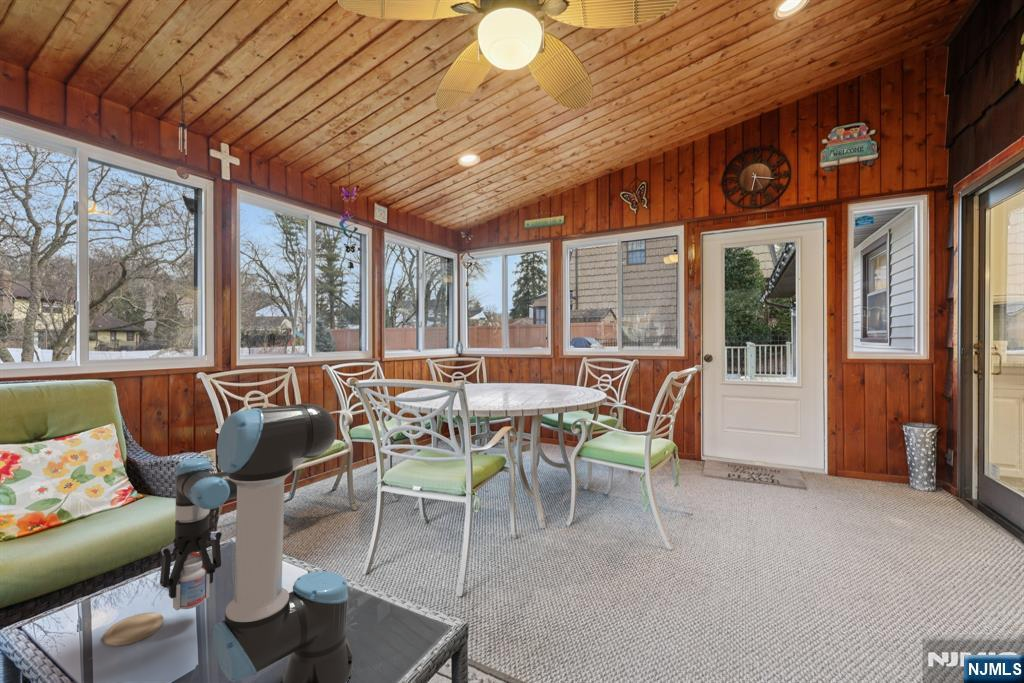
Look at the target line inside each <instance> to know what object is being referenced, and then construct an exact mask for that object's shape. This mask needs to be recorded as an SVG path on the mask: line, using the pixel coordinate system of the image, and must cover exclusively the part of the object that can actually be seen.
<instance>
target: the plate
mask: <svg viewBox="0 0 1024 683" xmlns="http://www.w3.org/2000/svg"><path fill="white" fill-rule="evenodd" d="M163 623H164V616H163V615H162V614H161V613H158V612H143V613H138V614H134V615H131V616H127V617H125V618H123V619H121V620H120V621H119V620H118V621H117V622H116V623H114V624H113V625H111V626H110V627H109V628H108V629H107V630H106V631H105V632H104V634H103V636H102V637H103V643H104V645H106V646H108V647H109V646H110V647H121V646H127V645H130V644H135V643H137V642H139V641H140V642H141V641H142V640H144V639H146V638H148V637H150V636H152V635H153V634H154V633H156V632H158V630H159V629H160V628H161V627H162V625H163Z"/></svg>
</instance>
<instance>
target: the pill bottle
mask: <svg viewBox="0 0 1024 683" xmlns="http://www.w3.org/2000/svg"><path fill="white" fill-rule="evenodd" d="M178 583H179V584H180V610H190V609H194V608H196V607H199V606H200V605H201V604H203V603H204V602H205V599H206V598H205V569H204V568H203V567H202V559H200V558H194V559H190V560H187V561H185V562H184V565H183V568H182V572H181V574H180V577H179V580H178Z"/></svg>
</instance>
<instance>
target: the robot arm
mask: <svg viewBox="0 0 1024 683" xmlns="http://www.w3.org/2000/svg"><path fill="white" fill-rule="evenodd" d="M219 430H220V431H219V433H218V438H217V443H216V445H217V446H216V455H217V464H218V467H219V469H221V471H220V472H214V473H212V472H211V469H212V467H211V462H210V461H211V460H210V459H208V458H205V457H196V458H189V459H184V460H181V461H180V462H178V463H177V464H176V467H175V475H174V477H175V517H174V518H175V522H174V539H173V541H172V543H171V544H169V545H167V546H161V548H160V550H159V551H160V553H161V556H162V557H161V568H160V578H159V584H160V585H161V587H163V588H168V597H169V598H170V599H172V608H173V609H174V610H175V611H176V612H177V611H179V610H181V609H180V584H179V583H178V580H179V577H180V574H181V571H182V568H183V565H184V562H185V559H186V558H187V556H188V554H190V553H192V552H198V553H199V554H200V556H201V559H202V561H203V564H204V566H205V568H206V571H205V599H208V598H210V584H212V583H213V582H214V574H215V572H216V569H219V568H221V566H222V556H221V555H222V552H221V538H222V535H223V534H222V532H221V531H219V530H218V529H217V530H216V529H215V530H214V531H210V512H211V510H214V509H217V508H219V507H221V506H222V505H223V504H225V503H226V501H230V500H234V499H236V516H235V517H236V519H235V520H236V522H235V558H234V560H235V563H234V564H235V565H234V593H233V594H234V597H233V598H232V599H231V600H230V601H229V602H228V603H227V605H226V607H225V612H224V617H225V618H224V620H222V621H221V620H220V621H219V622H218V623H217V624H215V625H214V627H213V630H212V642H213V643H212V644H213V649H214V652H215V656H216V658H217V662H218V665H219V667H220V669H221V671H222V673H223V675H224V676H225V677H226V678H227V679H228V680H229V681H231V682H235V683H236V682H240V681H242V680H244V679H246V678H249V677H250V676H252V675H255V676H256V674H258V672H260V671H262V670H264V669H266V668H267V667H270V666H271V665H273V664H275V663H277V662H278V661H280V660H283V659H284V658H286V657H287V656H288V659H287V663H286V667H285V668H284V671H283V675H282V683H345V682H346V681H347V680H348V679H349V677H350V676H351V673H352V674H353V672H352V670H353V671H354V656H353V653H352V650H351V647H350V644H349V641H348V639H347V628H348V626H347V621H348V620H347V619H348V599H349V592H348V591H349V590H348V582H347V580H346V578H345V577H344V576H342V575H341V574H340V573H337V572H335V571H324V570H320V571H312V572H308V573H305V574H303V575H301V576H299V577H298V578H297V579H296V580H295V581H294V583H293V585H292V591H290V592H289V591H288V590H287V589H286V588H284V587H283V585H282V584H283V583H282V582H283V552H284V551H283V550H284V547H283V546H284V545H283V544H284V517H285V516H284V512H285V511H284V510H285V509H284V508H285V481H286V478H288V477H289V476H290V475H291V474H292V472H293V471H294V470H295V469H296V468H298V467H299V466H300V465H301V464H303V463H304V462H305V461H307V460H308V459H315V458H317V457H319V456H321V455H322V454H324V453H325V452H327V451H328V450H329V449H330V448H331V447H332V446H333V444H334V442H335V441H336V437H337V433H338V432H337V431H338V428H337V423H336V420H335V418H334V416H333V415H332V414H331V413H330V412H329V411H328V410H327V409H325V408H324V407H322V406H319V405H317V404H313V403H298V404H291V405H289V404H287V405H279V406H270V407H267V406H266V407H258V408H256V407H253V408H251V409H246V410H240V411H235V412H233V413H231V414H230V415H229V416H227V417H226V419H225V420H224V422H223V424H222V425H221V427H220V429H219ZM209 539H210V540H211V556H212V560H211V558H210V556H209V553H208V550H207V549H208V548H207V547H206V543H207V542H208V540H209ZM174 549H177V554H176V559H175V562H174V564H173V567H172V570H171V564H172V554H173V552H174ZM351 677H352V676H351ZM349 680H350V679H349Z"/></svg>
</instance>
